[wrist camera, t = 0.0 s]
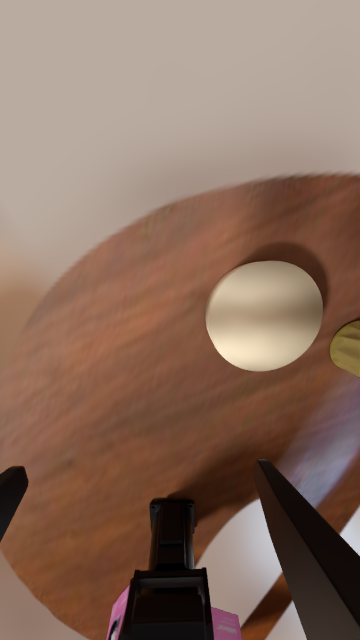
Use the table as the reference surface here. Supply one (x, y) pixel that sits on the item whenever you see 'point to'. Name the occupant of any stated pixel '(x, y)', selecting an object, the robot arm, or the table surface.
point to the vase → (347, 348)
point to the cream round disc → (264, 314)
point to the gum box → (223, 622)
